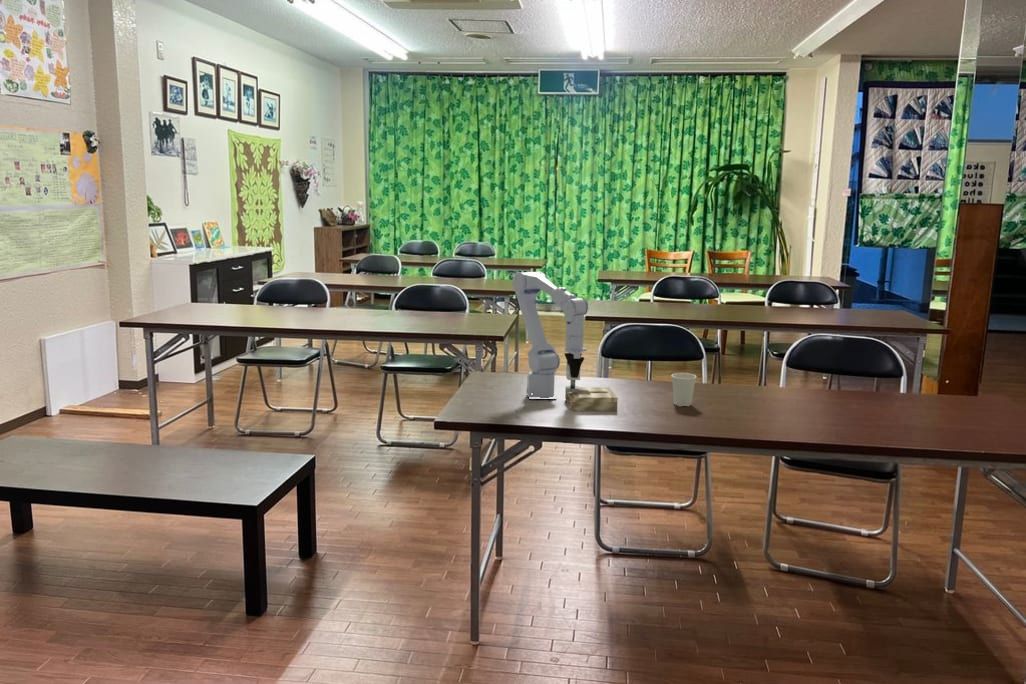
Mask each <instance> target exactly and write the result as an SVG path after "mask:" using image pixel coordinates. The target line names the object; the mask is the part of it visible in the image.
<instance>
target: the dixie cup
mask: <svg viewBox="0 0 1026 684" xmlns="http://www.w3.org/2000/svg"><path fill="white" fill-rule="evenodd" d="M697 378H698V377H697V375H696V374H694V373H693V374H692V373H688V372H687V373H686V372H675V373H672V374H671V382H672V383H671V384H672V395H673V397H672V398H673V405H674V404H675V405H674V406H676V405H677V407H681V406H688V407H691V406H692V402H693V396H694V392H695V384H696V381H697ZM690 405H691V406H690Z"/></svg>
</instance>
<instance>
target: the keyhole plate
mask: <svg viewBox="0 0 1026 684" xmlns="http://www.w3.org/2000/svg"><path fill="white" fill-rule="evenodd" d="M578 387H579V389H580V392H567V390H566V389H565V395H564V396H565V397H564V400H565V399H566V401H570V402H569V403H570V405H569V409H570V408H571V410H603V411H602V412H617V411H618V402H619V400H618V399H619V397H618V396H617V395H616V394H615V393H614V391H613V389H611V388H610V387H608V386H607V387H603V386H602V387H601V386H600V387H599V386H596V387H595V386H592V387H590V386H588V387H587V386H586V387H583V386H578ZM566 401H565V402H566ZM571 410H570V411H571ZM604 410H606V411H604Z"/></svg>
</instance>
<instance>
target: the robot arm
mask: <svg viewBox="0 0 1026 684" xmlns="http://www.w3.org/2000/svg"><path fill="white" fill-rule="evenodd" d="M512 286H513V289H514V293H515V295H516V296H515V297H516V298H517V302H518V306H519V308H520V311H521V315H522V318H523V319H522V320H523V322H524V325H525V329H526V331H527V335H528V338H529V340H530V344H531V348H530V349H529V351H528V353H527V356H528V366H529V369H530V372H529V371H528V372H527V376H526V377H527V379H526V395H527V394H528V396H527V398H528V397H540V398H549V397H553V396H554V395H555V375H556V372H557V369H559V368H560V365H561V358H560V355H559V354H558V353H557V351H556V348H555V347H554V346H553V345H552V344H550V343H549V342H548V341H547V337H546V334H545V331H544V328H543V325H542V321H541V318H540V316H539V313H538V309H537V306H536V302H535V300H536V298H538V297H539V295H540V293H541V292H543V293H545V294H546V295H548V296H550V298H551V299H550V300H551V301H552V303H554V304H555V305H556V306H558V307H559V308H560V309H562V313H563V315H564V320H565V348H564V351H565V352H564V353H563V354H564V356H565V359H566V363H567V362H569V366H570V374H571V378H578V375H579V371H580V372H581V366H582V364H583V362H584V360H585V357H584V356H582V355H583V354H582V353H583V352H587V351H588V350H587V348H586V347H584V332H585V331H584V330H585V329H584V328H585V326H584V324H585V323H584V321H585V315H586V314H587V313H588V311H589V304H588V301H587V300H586V299H585V297H577V296H576V295H575V293H571V292H570V291H568V290H567V288H566V287H565V286H564V287H562V286H560V287H557V286H556V285H555V284H554V283H553V282H551V281H550V280H549V279H548V278H547V276H546V274H545V273H543V272H542V271H540V270H539V271H527V272H522V271H521V272H520V271H519V272H517V273H515V275H514V277H513V280H512ZM531 393H533V395H531Z"/></svg>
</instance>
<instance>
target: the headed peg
mask: <svg viewBox="0 0 1026 684" xmlns="http://www.w3.org/2000/svg"><path fill="white" fill-rule="evenodd" d="M565 369H566V373H565V375H566V376H565V377H566V379H567V380H568V381H570V385H565V391H566V390H567V392H580V389H579V387H580V386H578V385H576V381H580V380H581V370H580V371H579V375H578V378H571V374H570V366H569V362H567V361H566V368H565Z"/></svg>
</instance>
